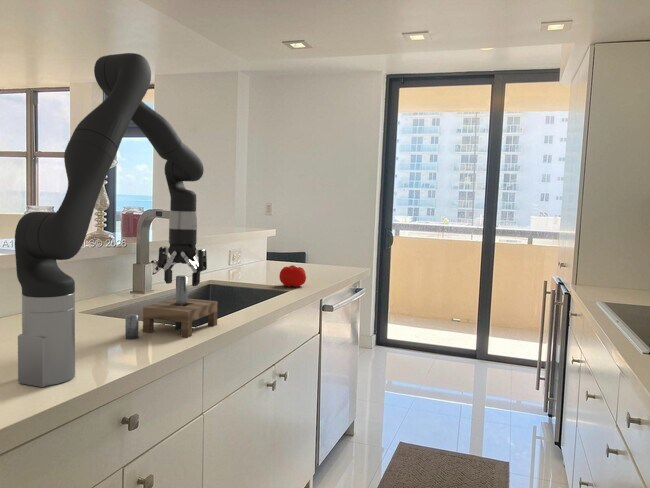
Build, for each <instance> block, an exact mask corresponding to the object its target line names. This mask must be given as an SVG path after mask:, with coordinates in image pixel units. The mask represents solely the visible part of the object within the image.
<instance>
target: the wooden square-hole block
mask: <svg viewBox="0 0 650 488" xmlns="http://www.w3.org/2000/svg"><path fill="white" fill-rule="evenodd" d="M218 302H219V301H216V300H205V299H196V298H195V299H194V298H187V306H176V297H173V298H170V299H167V300H162V301H159V302H155V303H151V304H148V305H145V306H143V307H142V333H148V334H150V333H153V332H154V331H155V328H154V326H155V325H154V324H155V320H159V321H161V320H162V321H169V322H172V323H173V322H174V323H175V321H176V322H181V330H180V331H181V334H180V336H181V338H190V337H192V336H193V322H194V321H196V320H199V319H201V318H204V317H207V326H208V325H209V327H215V326H217V325H218V304H219V303H218Z"/></svg>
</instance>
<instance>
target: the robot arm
mask: <svg viewBox="0 0 650 488" xmlns="http://www.w3.org/2000/svg"><path fill="white" fill-rule="evenodd" d="M93 73H94V78H95V81H96V83H97V86H99V89H101V90H102V92H103V93H104V94H105V95H106V96H107V97H106V98H105V99H104V100H103V101H102V102H101V103H100V104H98V105H97V106H96V107H95V108H94V109H92V110H91V111H90V112H89V113H88V114H86V116H84V118H83V119H82V120H81V121H79V123H78V124H77V125H76V127H75V128H74V130H73V133H72V134H71V136H70V138H69V140H68V143H67V144H66V147H65V150H64V155H63V157H64V158H63V160H64V167H65V173H66V177H67V189H66V193H65V196H64V198H63V200H62V202H61V204H60V206H59V208H58V209H57V211H56V212H54V211H31V212H28V213H25V214H23V216H22V217H20V219H19V220H18V222H17V225H16V227H15V231H14V253H15V254H14V255H15V266H16V267H15V268H16V277H17V280H18V282H19V285H20V287H21V334H18V335H17V379H18V380H17V382H18V384H23V385H28V386H33V387H40V388H44V387H47V386H52V385H58V384H62V383H65V382H68V381H70V380H73V379H74V377H75V376H76V333H75V332H76V323H75V322H76V314H75V313H76V297H75V295H76V292H75V291H76V287H75V286H76V284H75V279H74V278H73V276H71V275H69V274H66V273H65V271H63V270H62V269H61V268H60V267H59V265H58V262H57V261H66V260H70V259H73V258H74V257H75V256H76V255H77V254H79V251H80V250H81V249H82V247H83V245H84V242H85V240H86V237H87V233H88V231H89V228H90V224H91V220H92V217H93V213H94V211H95V208H96V204H97V201H98V199H99V195H100V193H101V190H102V188H103V185H104V182H105V180H106V179H107V175H108V173H109V171H110V169H111V167H112V165H113V163H114V160H115V158H116V156H117V153H118V151H119V148H120V145H121V143H122V139H123V138H124V136H125V133H126V131H127V129H128V128H129V125H130V123H131V122H133V123H134V124H135V126H136V127H137V128H138V129H139V130H140V131H141V132H142V134H143V135H144V136H145V137H146V139H147V140H148V142H149V144H151V145H152V147H153V149H154V150H155V151H156V152H157V153H156V154H158V156H159V157H160V158H161V159H163V160H165V164H164V175H165V180H166V183H167V187H168V191H169V195H170V196H169V197H170V208H169V209H170V210H169V211H170V212H169V219H168V221H169V223H168V244H169V247H168V246H160V247H159V249H158V258H157V259H158V261H157V266H158V268H160V269H163V271H164V282H165V284H172V283H173V270H172V269H173V268H174V266H175V265H176V264H184V265H185V264H187V266H188V267H190V269H191V270H192V273H191V284H192V285H191V286H192V287H198V286H199V284H200V282H201V272H204V271H207V270H208V265H207V264H208V262H207V261H208V258H207V257H208V256H207V249H205V248H201V249H197V248H196V247H197V239H198V238H197V237H198V233H197V232H198V231H197V230H198V218H197V193H196V192H195V191H193V190H189V189H187V188H186V186H185V185H184V182H197V181H199V180H201V179H202V178H203V175H204V172H205V171H204V165H203V162H202V160H201V158H200V157H199V156H198V155H197V153H195V152H194V151H193V150H192V149H191V148H190V147H189V146H188V145H186V144H185V143H184V142H183V141H182V140H181V138H180V136H179V135H178V133H177V132H176V129H174V127H173V126H172V124H171V123H170V122H169V121H168V120H167V119H166V118H165V117H164V116H162V115H161V113H158V112H157V111H155V110H154V109H153V108H152V107H150V106H149V105H147V104H146V103H145V102H144V101H143V100H144V98H145V95H147V92H148V91H149V87H150V85H151V81H152V80H151V79H152V70H151V67H150V63H149V61H148V60H147V58H146V57H145V56H143V55H141V54H139V53H133V52H125V53H116V54H109V55H103V56H101V57H99V58H98V59H97V60H96V61H95V63H94V68H93ZM168 255H170V256H169V257H168ZM196 257H198V260H197V259H196Z"/></svg>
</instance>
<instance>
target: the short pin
mask: <svg viewBox="0 0 650 488" xmlns="http://www.w3.org/2000/svg"><path fill="white" fill-rule="evenodd" d="M124 319H125V320H124V321H125V326H124V327H125V332H124V333H125V340H137V339H138V338H139V321H140V320H139V314H137V313H129V314H126V315H125V317H124Z"/></svg>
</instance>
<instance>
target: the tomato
mask: <svg viewBox="0 0 650 488" xmlns="http://www.w3.org/2000/svg"><path fill="white" fill-rule="evenodd" d="M278 277H279V281H280V283H281V284H282V285H283V286H285V287H287V286H288V288H293V287H294V288H298V287H300V286H302V285H304V284H305V283H306V281H307V275H306V272H305V269H304V268H303V267H301V266H299V267H298V266H296V265H294V264H293V265H292V264H291V265H288V266H284V267H283V268H281V270H280V272H279V276H278ZM291 286H292V287H291Z"/></svg>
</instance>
